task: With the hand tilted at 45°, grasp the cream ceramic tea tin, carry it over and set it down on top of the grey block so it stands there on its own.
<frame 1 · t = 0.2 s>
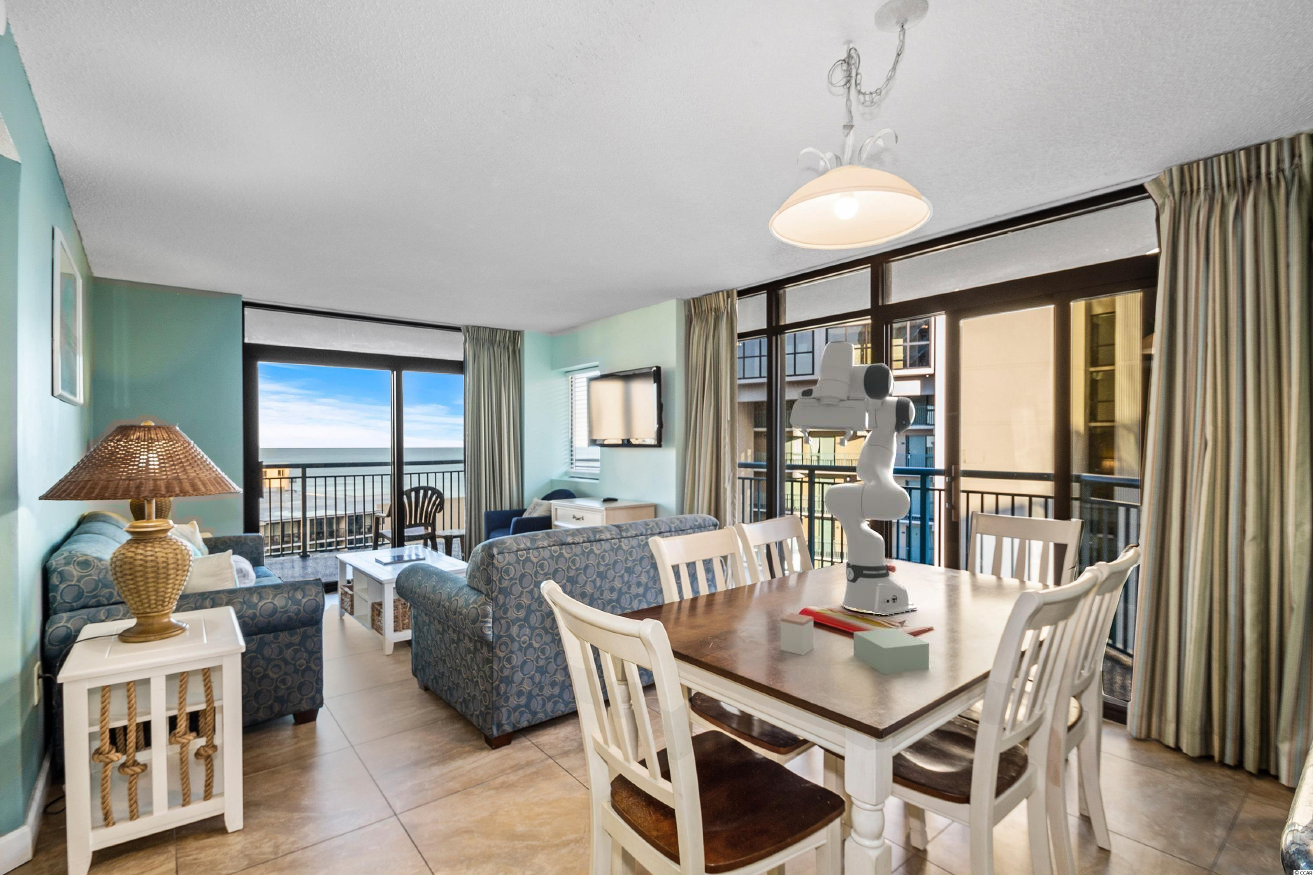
hand: (824, 444, 164), 52 cm above the table, tool tilted 20°, fingers open, 8 cm apart
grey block: (890, 662, 148), on the table
tea tin: (797, 649, 156), on the table
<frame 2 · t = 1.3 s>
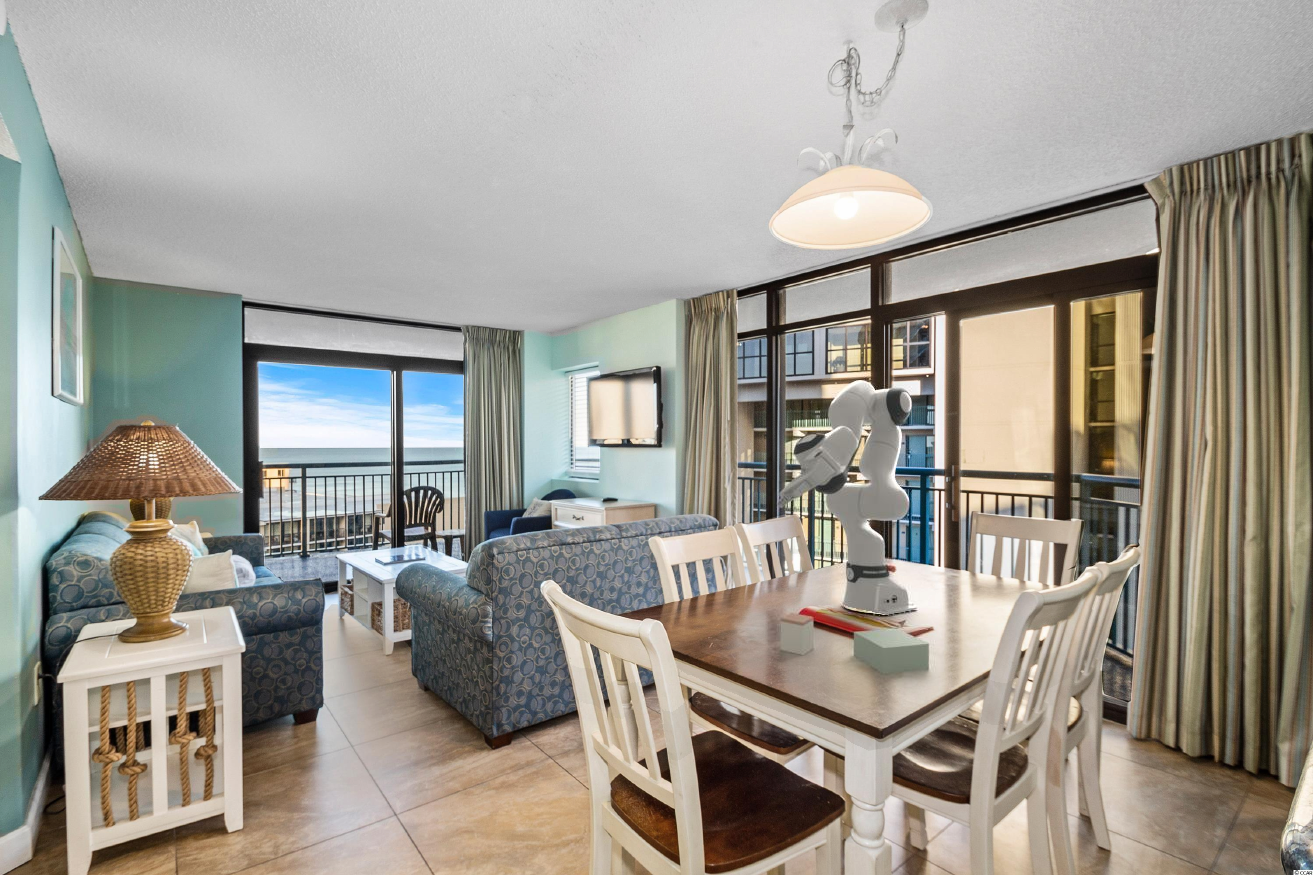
hand: (787, 501, 164), 37 cm above the table, tool tilted 55°, fingers open, 8 cm apart
nothing on the table moved.
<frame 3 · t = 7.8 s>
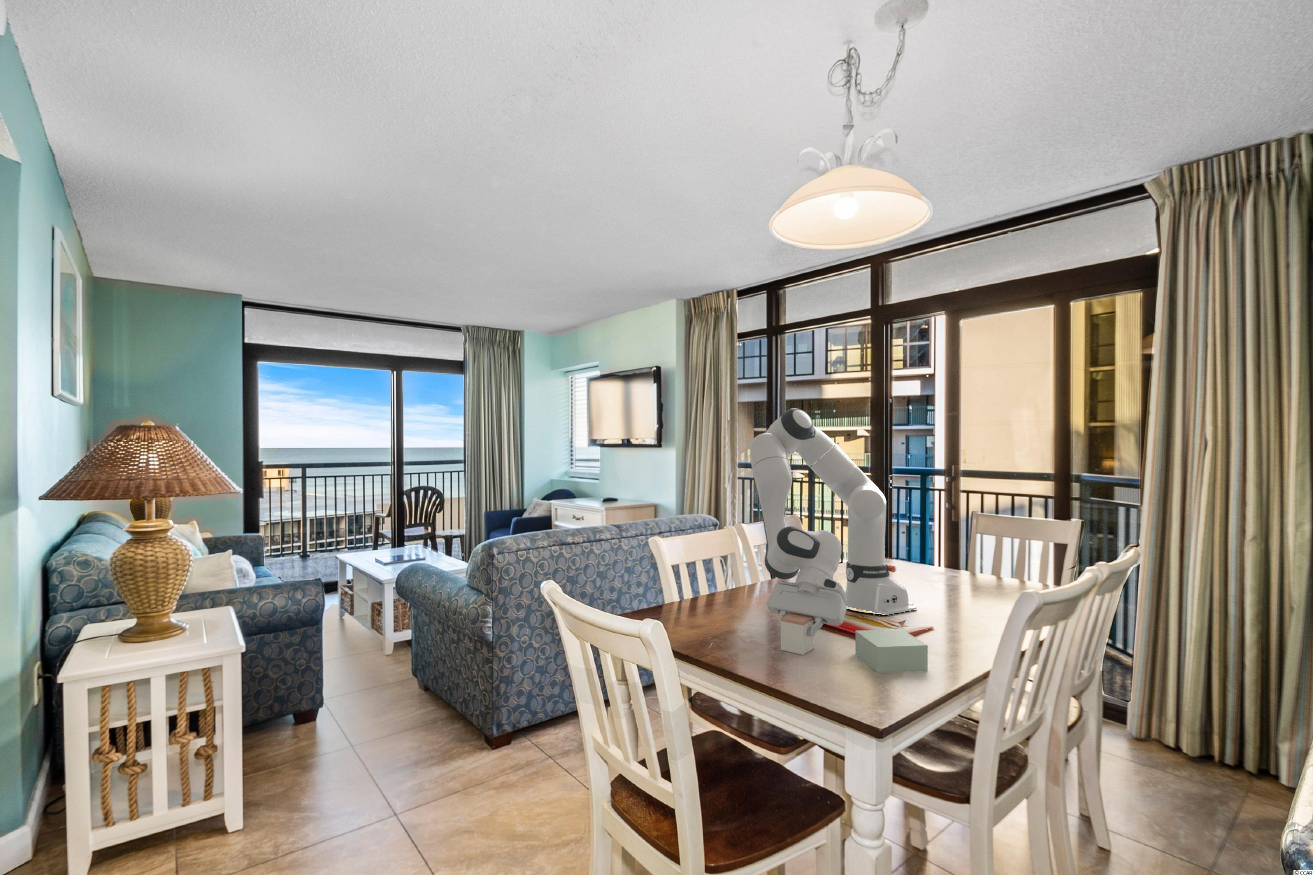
hand: (796, 632, 156), 4 cm above the table, tool tilted 45°, fingers closed on tea tin, 6 cm apart
tea tin: (797, 648, 156), on the table, touching gripper
when the fingers open (11 cm above the table, at t = 14.0 s): tea tin drops 1 cm, point 6 cm above the table.
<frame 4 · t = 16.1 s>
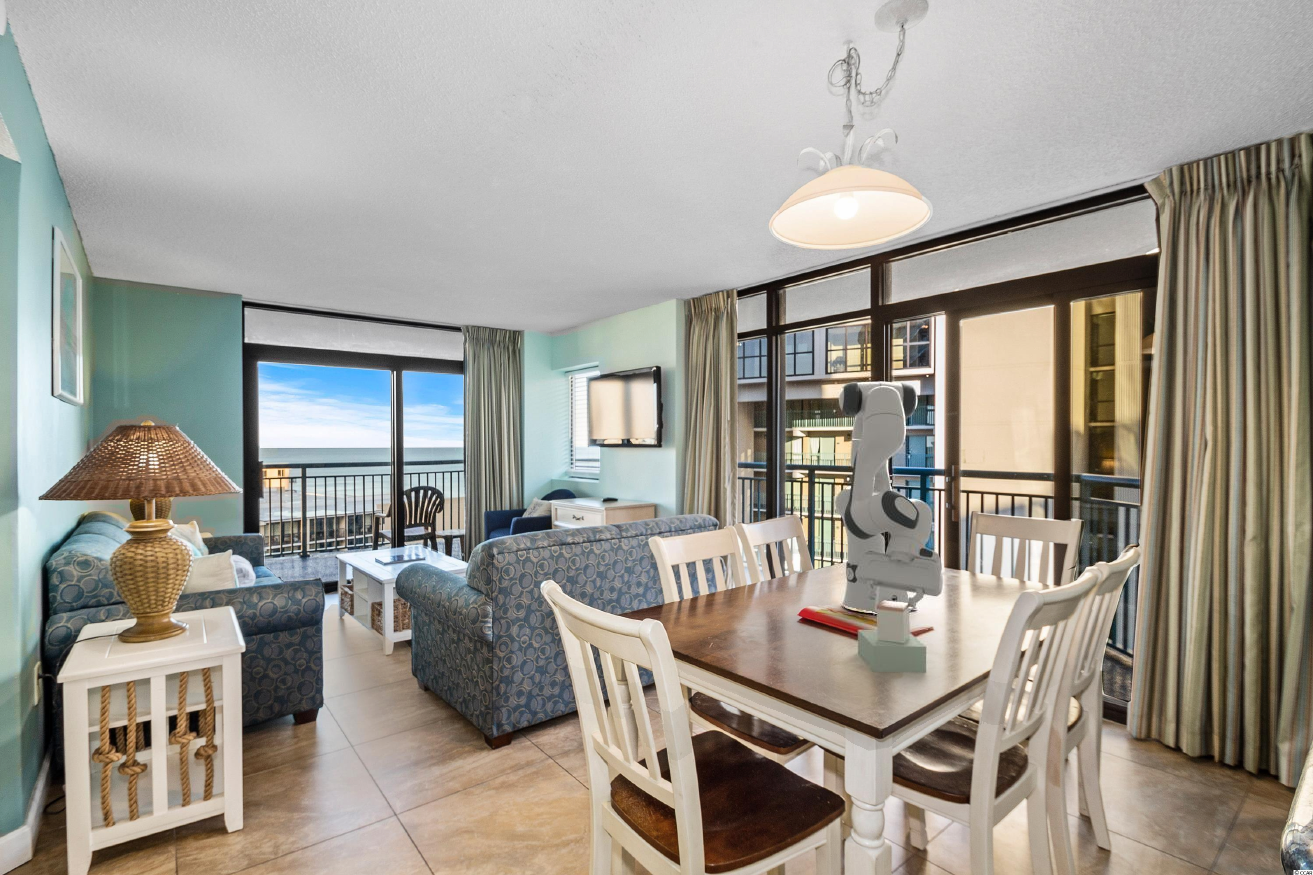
hand: (890, 602, 150), 14 cm above the table, tool tilted 45°, fingers open, 8 cm apart
tea tin: (893, 638, 147), point 6 cm above the table
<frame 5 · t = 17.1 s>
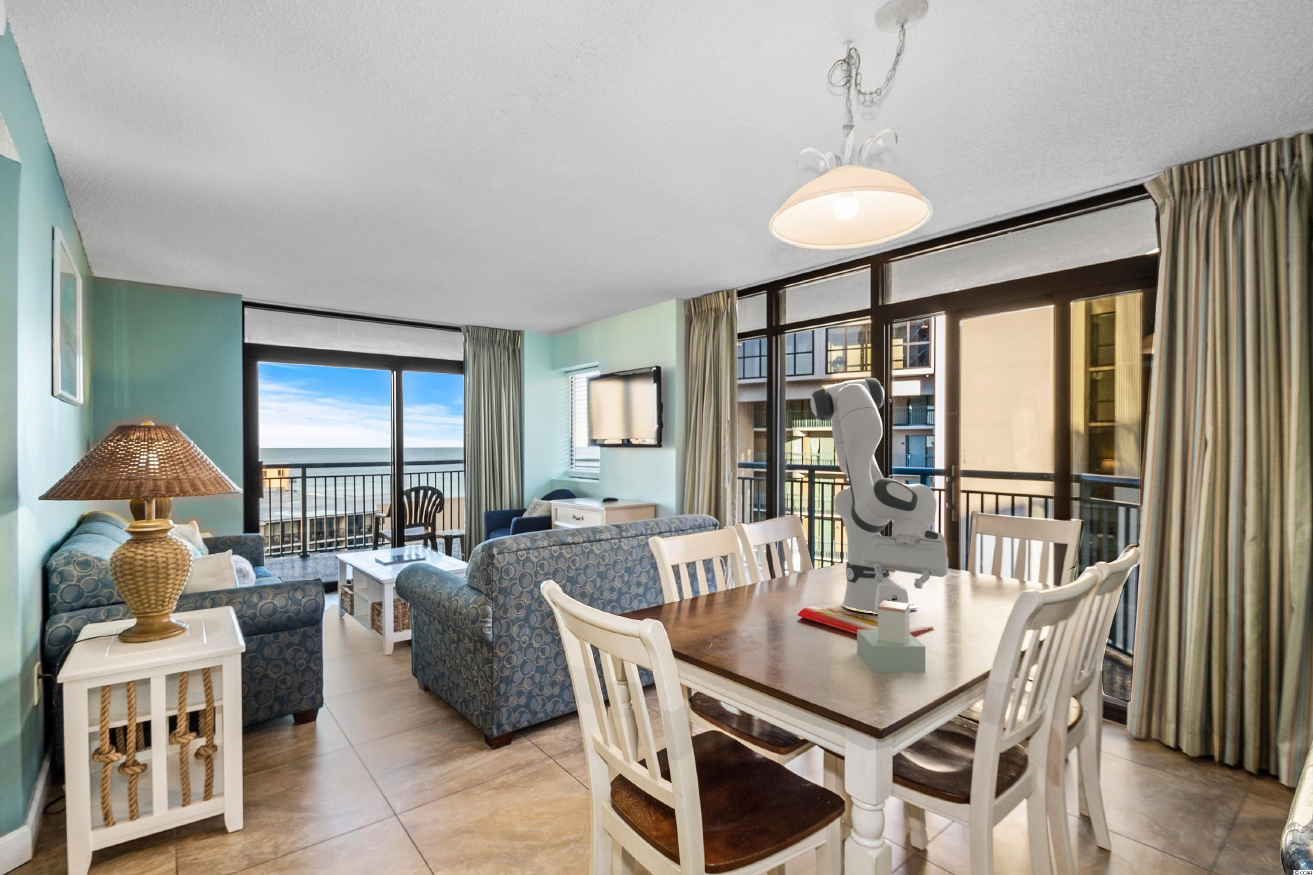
hand: (897, 583, 152), 17 cm above the table, tool tilted 45°, fingers open, 8 cm apart
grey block: (889, 662, 148), on the table, touching tea tin
tea tin: (893, 638, 147), point 6 cm above the table, touching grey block
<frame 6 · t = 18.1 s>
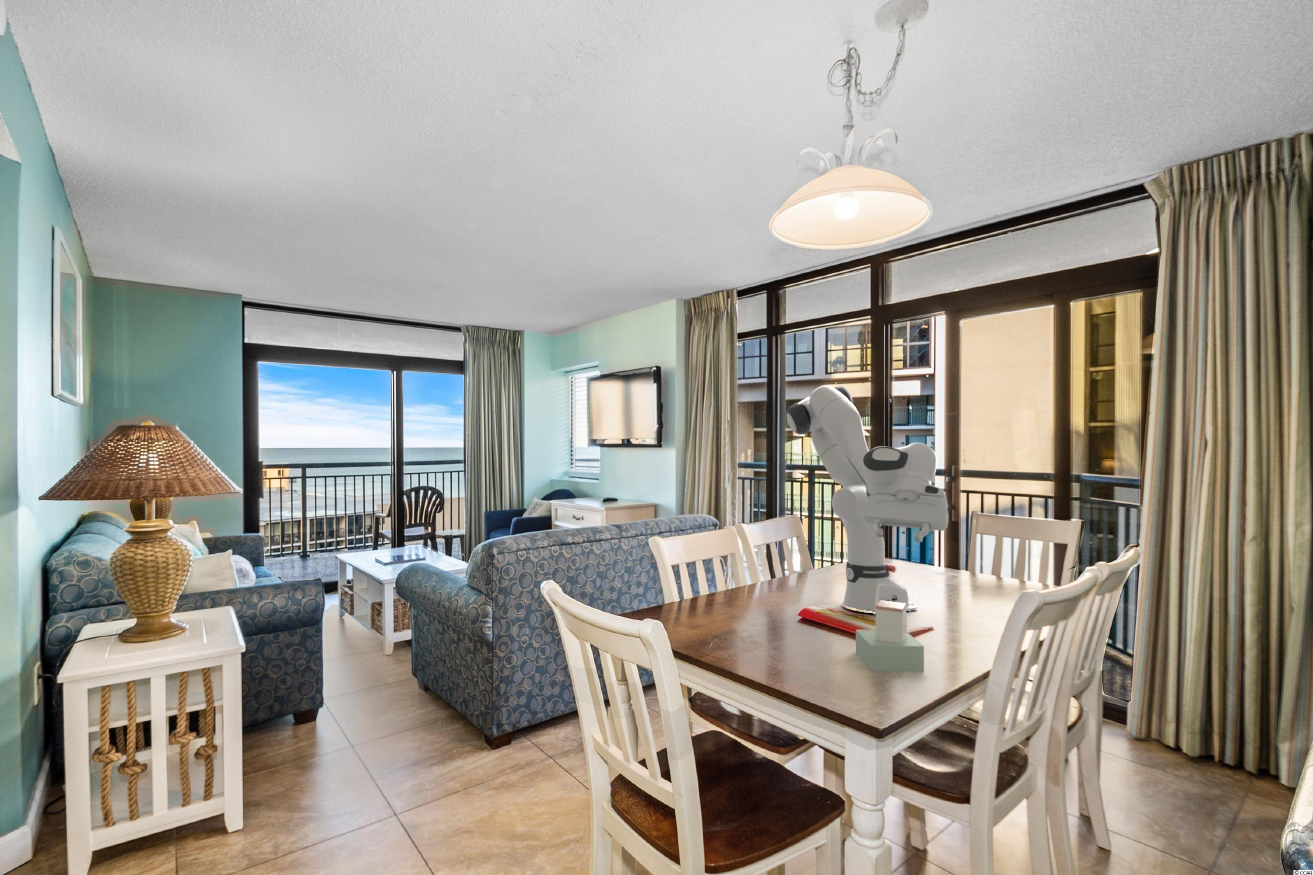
hand: (897, 538, 152), 29 cm above the table, tool tilted 45°, fingers open, 8 cm apart
nothing on the table moved.
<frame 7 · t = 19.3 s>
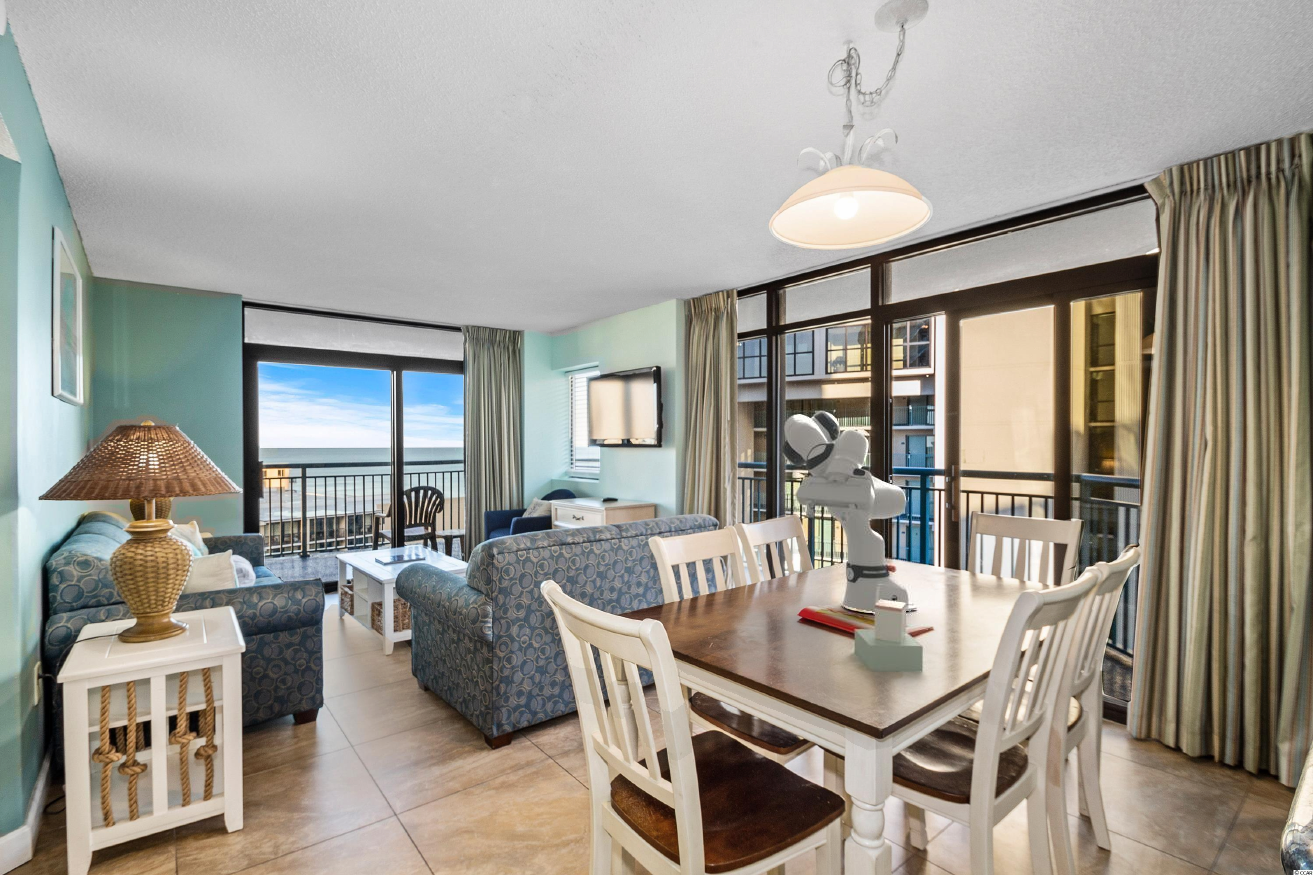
hand: (826, 517, 161), 33 cm above the table, tool tilted 45°, fingers open, 8 cm apart
nothing on the table moved.
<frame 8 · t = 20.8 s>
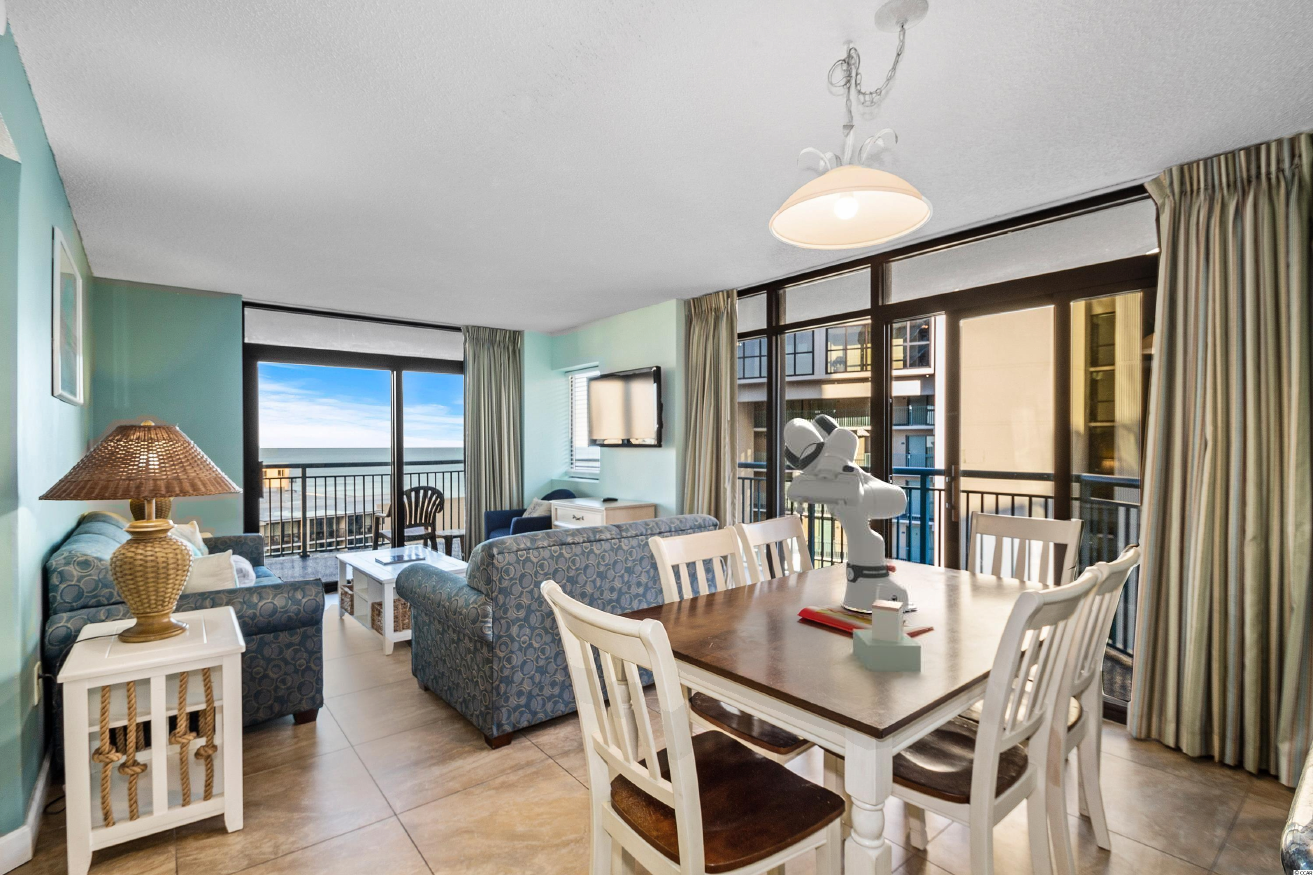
hand: (815, 514, 162), 33 cm above the table, tool tilted 45°, fingers open, 8 cm apart
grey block: (885, 662, 148), on the table
tea tin: (887, 637, 148), point 6 cm above the table
at the end: tea tin inside the target area on the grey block (0.5 cm from its centre), point 6.0 cm above the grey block's base; tea tin tilted 0°; the gripper is holding nothing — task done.
